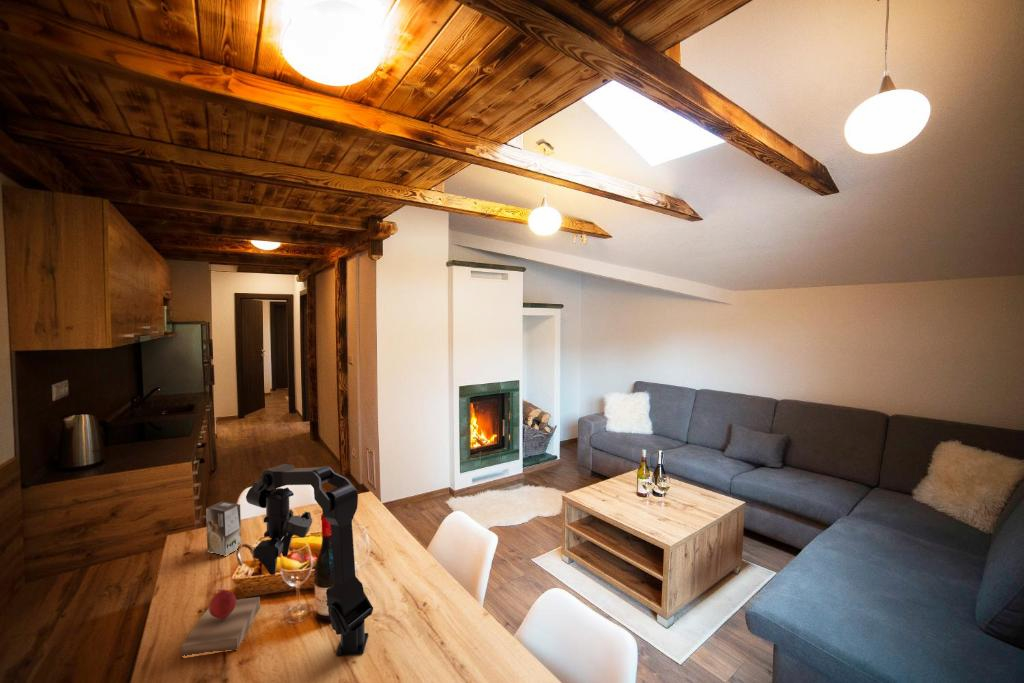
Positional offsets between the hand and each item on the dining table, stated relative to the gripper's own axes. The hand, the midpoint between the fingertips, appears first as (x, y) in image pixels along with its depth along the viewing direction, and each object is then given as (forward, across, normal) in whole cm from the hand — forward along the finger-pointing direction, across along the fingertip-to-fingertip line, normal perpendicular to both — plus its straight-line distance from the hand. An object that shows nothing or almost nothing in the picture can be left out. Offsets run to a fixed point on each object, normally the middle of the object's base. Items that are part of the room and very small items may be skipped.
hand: (279, 565), depth 119 cm
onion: (+9, -7, +11) cm, 16 cm away
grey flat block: (+13, -7, +11) cm, 19 cm away
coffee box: (+12, +36, +31) cm, 49 cm away
